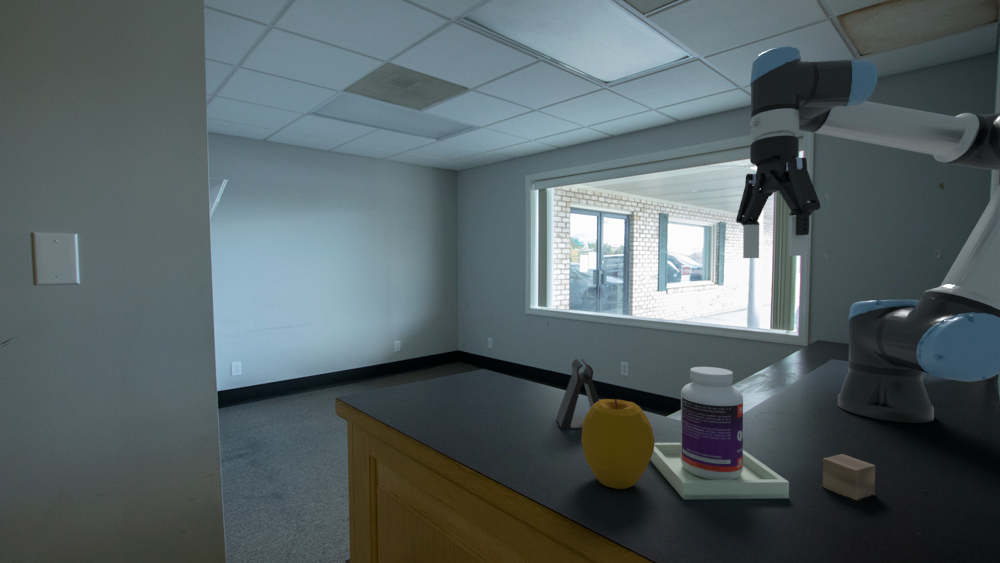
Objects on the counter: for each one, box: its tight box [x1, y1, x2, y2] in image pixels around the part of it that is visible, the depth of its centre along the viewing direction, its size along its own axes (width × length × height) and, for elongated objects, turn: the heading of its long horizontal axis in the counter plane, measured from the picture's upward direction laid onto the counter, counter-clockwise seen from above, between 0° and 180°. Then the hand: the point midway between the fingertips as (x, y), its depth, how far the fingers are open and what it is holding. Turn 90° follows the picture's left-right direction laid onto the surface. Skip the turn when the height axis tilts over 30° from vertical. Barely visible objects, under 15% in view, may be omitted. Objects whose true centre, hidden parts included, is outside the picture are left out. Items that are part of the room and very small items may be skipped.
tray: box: [650, 442, 790, 500], centre depth 65 cm, size 14×14×2 cm
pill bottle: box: [680, 366, 744, 480], centre depth 64 cm, size 8×8×14 cm
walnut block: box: [822, 453, 876, 501], centre depth 60 cm, size 4×4×4 cm
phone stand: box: [556, 358, 600, 430], centre depth 86 cm, size 9×6×12 cm, turn 90°
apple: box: [581, 397, 656, 490], centre depth 62 cm, size 10×10×12 cm
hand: (772, 257), depth 82 cm, fingers open, 13 cm apart
